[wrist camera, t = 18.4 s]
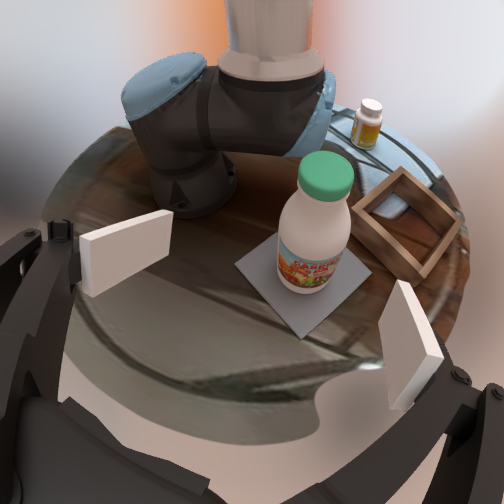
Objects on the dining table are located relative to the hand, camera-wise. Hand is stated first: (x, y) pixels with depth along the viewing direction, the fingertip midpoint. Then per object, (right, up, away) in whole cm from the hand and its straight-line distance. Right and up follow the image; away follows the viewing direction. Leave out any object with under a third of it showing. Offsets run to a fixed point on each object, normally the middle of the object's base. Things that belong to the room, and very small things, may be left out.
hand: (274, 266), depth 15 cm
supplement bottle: (+21, +23, +36) cm, 48 cm away
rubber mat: (+6, -2, +25) cm, 25 cm away
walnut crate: (+23, +4, +26) cm, 35 cm away
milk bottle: (+6, -2, +24) cm, 25 cm away
